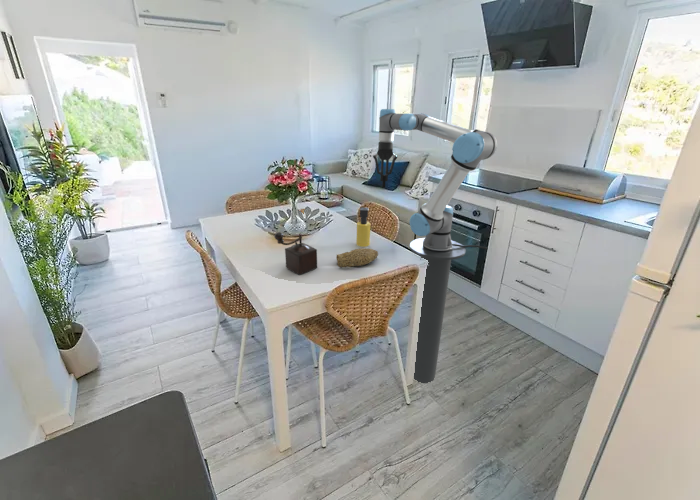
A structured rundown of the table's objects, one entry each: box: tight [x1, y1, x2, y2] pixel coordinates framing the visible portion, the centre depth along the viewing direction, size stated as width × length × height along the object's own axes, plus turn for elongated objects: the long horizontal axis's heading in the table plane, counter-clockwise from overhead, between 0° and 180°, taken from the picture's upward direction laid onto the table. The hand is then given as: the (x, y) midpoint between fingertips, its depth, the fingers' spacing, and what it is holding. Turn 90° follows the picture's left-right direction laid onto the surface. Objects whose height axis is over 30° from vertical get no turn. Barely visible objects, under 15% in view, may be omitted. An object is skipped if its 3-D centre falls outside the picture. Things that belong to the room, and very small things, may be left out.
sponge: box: [335, 247, 379, 269], centre depth 162 cm, size 13×8×20 cm
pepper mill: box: [273, 231, 318, 276], centre depth 152 cm, size 16×11×18 cm
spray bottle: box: [355, 207, 371, 248], centre depth 182 cm, size 7×8×20 cm
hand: (383, 187), depth 187 cm, fingers closed
